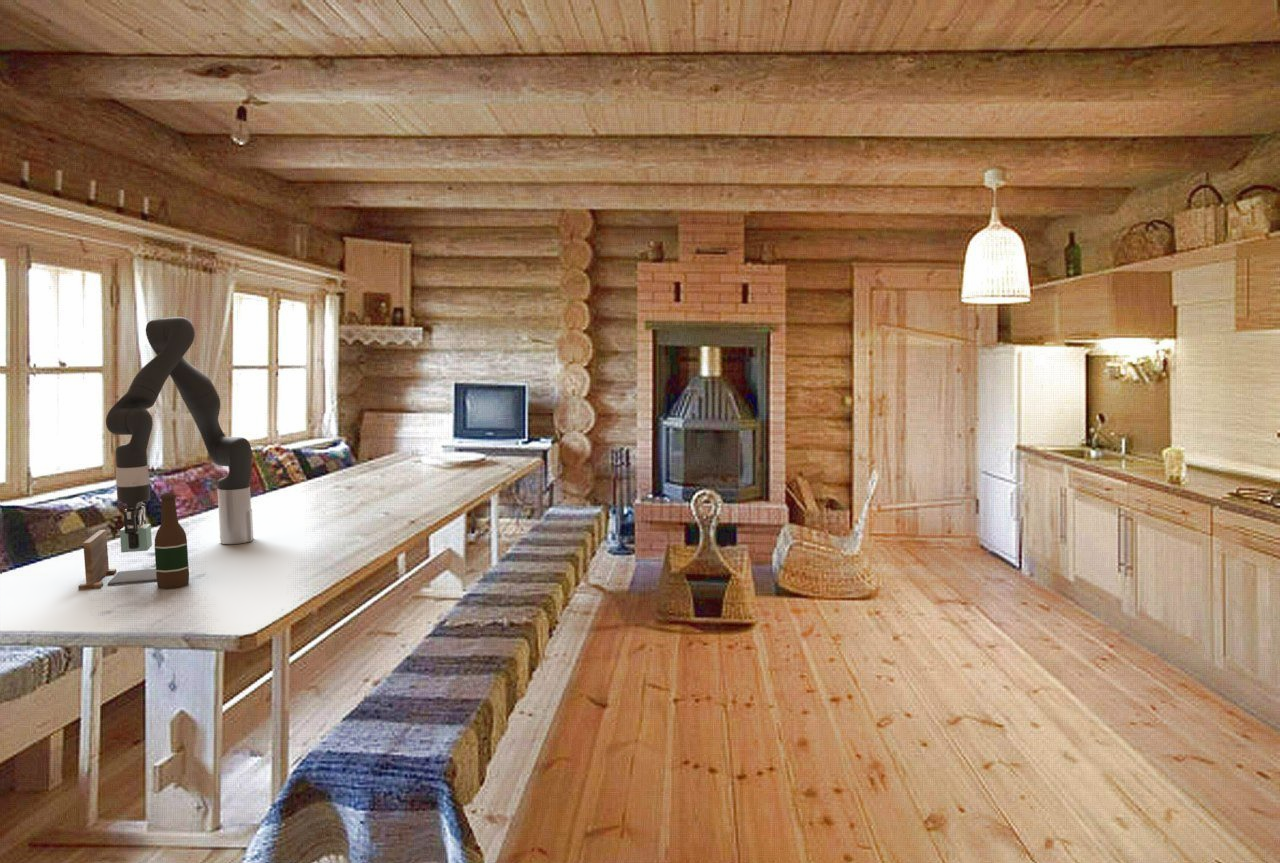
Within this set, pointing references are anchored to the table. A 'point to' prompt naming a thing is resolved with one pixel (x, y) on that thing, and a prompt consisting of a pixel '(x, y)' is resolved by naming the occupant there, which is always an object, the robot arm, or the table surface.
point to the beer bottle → (171, 547)
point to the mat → (134, 577)
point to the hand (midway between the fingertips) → (136, 545)
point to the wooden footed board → (96, 561)
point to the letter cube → (143, 537)
